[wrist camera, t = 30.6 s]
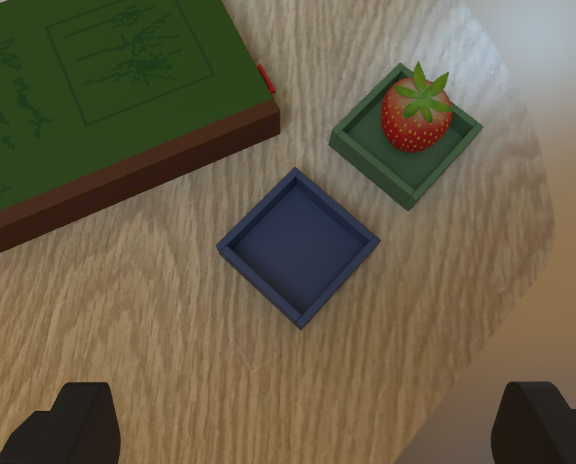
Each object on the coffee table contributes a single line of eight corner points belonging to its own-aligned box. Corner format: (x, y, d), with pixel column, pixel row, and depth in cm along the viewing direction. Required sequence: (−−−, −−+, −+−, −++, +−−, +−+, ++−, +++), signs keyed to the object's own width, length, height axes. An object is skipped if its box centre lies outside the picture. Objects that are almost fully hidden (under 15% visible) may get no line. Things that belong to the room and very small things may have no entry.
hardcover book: (-2, 253, 38) (-31, 240, 34) (-64, 65, 42) (-96, 36, 39) (287, 130, 41) (288, 107, 38) (201, -31, 46) (194, -66, 42)
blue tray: (374, 248, 39) (381, 240, 36) (300, 330, 37) (302, 327, 34) (293, 179, 40) (295, 166, 38) (219, 253, 38) (215, 245, 36)
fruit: (444, 145, 41) (484, 92, 33) (399, 181, 40) (429, 135, 32) (401, 101, 42) (429, 39, 34) (356, 135, 41) (374, 79, 33)
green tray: (471, 141, 41) (484, 126, 39) (408, 211, 39) (417, 200, 37) (392, 80, 43) (400, 62, 40) (328, 144, 41) (331, 130, 38)
